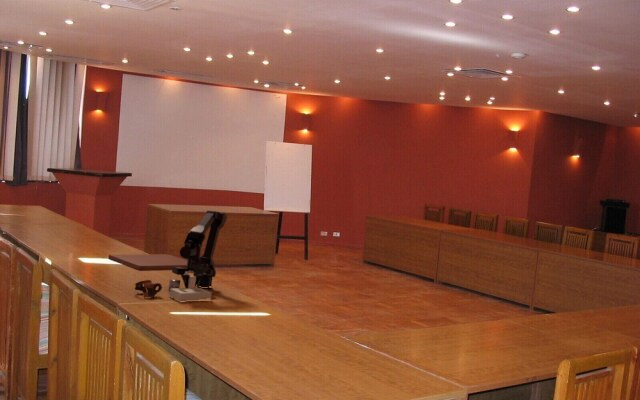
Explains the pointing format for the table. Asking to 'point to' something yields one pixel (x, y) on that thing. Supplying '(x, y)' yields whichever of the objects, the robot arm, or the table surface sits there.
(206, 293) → the socket block
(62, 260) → the table surface
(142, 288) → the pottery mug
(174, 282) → the round dowel
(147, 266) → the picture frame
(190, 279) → the square peg
